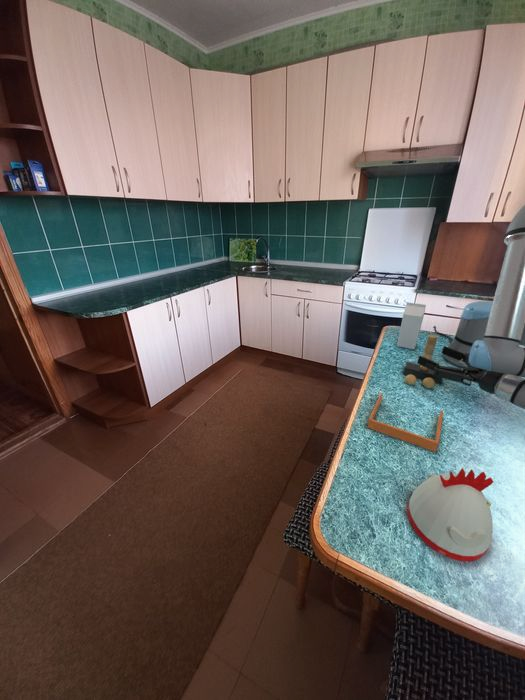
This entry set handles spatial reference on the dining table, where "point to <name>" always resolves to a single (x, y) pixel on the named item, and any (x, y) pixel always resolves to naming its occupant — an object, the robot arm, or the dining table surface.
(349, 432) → the dining table surface
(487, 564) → the dining table surface
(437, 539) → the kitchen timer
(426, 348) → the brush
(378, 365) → the dining table surface
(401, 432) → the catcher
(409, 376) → the crumb
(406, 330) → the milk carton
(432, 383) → the crumb
